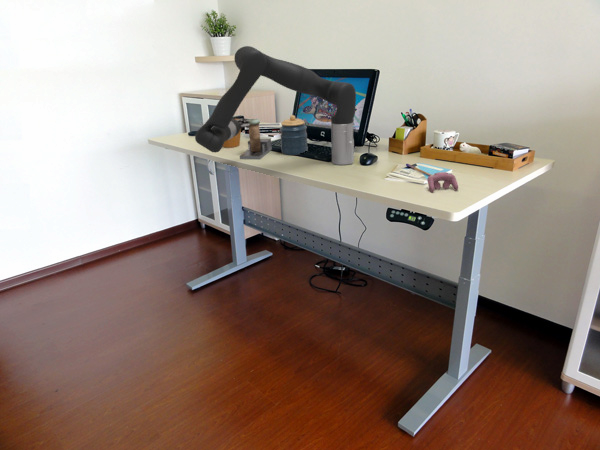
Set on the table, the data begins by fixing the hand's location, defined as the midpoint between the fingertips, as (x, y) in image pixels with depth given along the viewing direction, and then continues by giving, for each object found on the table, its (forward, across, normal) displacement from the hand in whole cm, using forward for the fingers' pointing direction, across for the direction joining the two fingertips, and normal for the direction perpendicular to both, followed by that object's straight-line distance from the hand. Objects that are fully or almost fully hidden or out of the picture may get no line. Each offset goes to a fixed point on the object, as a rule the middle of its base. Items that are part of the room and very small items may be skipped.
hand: (243, 120), depth 182 cm
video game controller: (-30, -83, +20) cm, 91 cm away
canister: (+17, -17, +20) cm, 31 cm away
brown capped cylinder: (+12, +1, +17) cm, 21 cm away
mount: (+12, +1, +19) cm, 23 cm away
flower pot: (+28, +21, +19) cm, 40 cm away
